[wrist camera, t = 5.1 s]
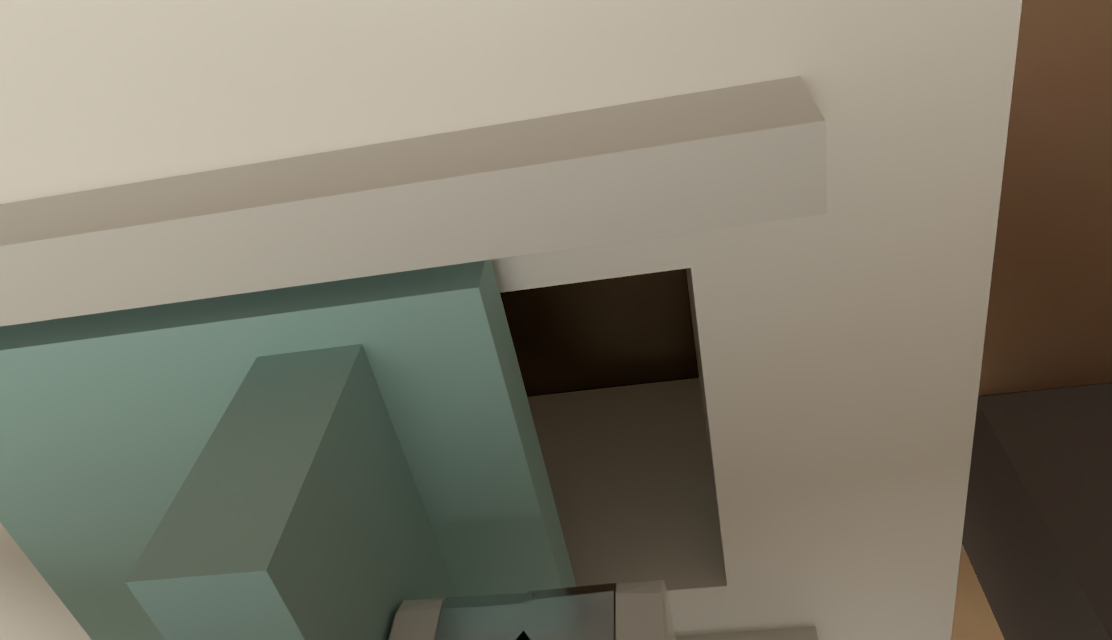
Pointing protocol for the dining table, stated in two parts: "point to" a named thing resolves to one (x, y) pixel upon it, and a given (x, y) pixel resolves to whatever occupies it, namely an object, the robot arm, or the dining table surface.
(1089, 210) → the dining table surface
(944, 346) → the socket
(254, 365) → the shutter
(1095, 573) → the plug
